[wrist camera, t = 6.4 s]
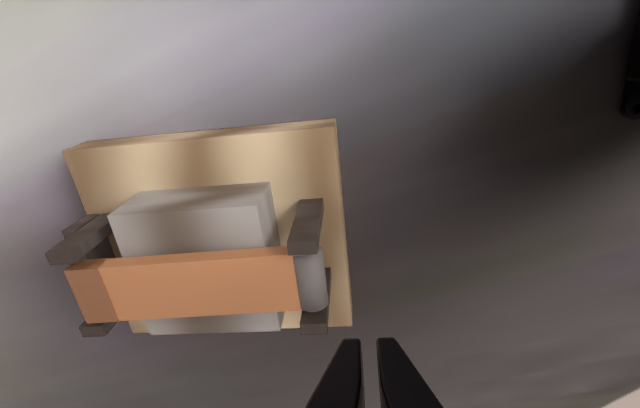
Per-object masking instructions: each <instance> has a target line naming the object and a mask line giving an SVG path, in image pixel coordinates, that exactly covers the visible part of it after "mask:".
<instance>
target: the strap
mask: <svg viewBox="0 0 640 408" xmlns="http://www.w3.org/2000/svg"><path fill="white" fill-rule="evenodd" d="M64 274H65V276H66V278H67V280H68V283H69V285H70V287H71V289H72V292H73V294H74V296H75V298H76V301H77V303H78V305H79V307H80V309H81V312H82V314H83V316H84V318H85V321H86V323H87V324H90V323H107V322H119V321H129V320H146V319H164V318H181V317H198V316H215V315H232V314H249V313H266V312H283V311H300V310H303V311H306V312H318V311H321V310H323V309H324V308H325V307H326V306H327V305H328V302H329V301H328V292H327V284H326V275H325V267H324V258H323V250H322V247H321V246H320V245H319V246H318V253H317V254H311V255H292V256H288V250H287V246H276V247H262V248H248V249H235V250H221V251H207V252H193V253H179V254H166V255H152V256H138V257H124V258H111V259H108V258H103V259H90V260H78V261H77V262H76V263H75V264H71V265H70V266H69V267H68V268H67V269H66V270H64Z"/></svg>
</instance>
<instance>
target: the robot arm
mask: <svg viewBox="0 0 640 408" xmlns="http://www.w3.org/2000/svg"><path fill="white" fill-rule="evenodd" d="M625 76H626V83H625V88H624V93H623V97H622V102H621V107H620V113H621V115H622V116H624V117H625V118H629V119H640V16H639V18H638V19H637V21H636V26H635V30H634V35H633V40H632V45H631V50H630V55H629V60H628V64H627V69H626V74H625ZM635 104H637V108H636V110H635V111H634V112H631V109H632V107H633V106H634V105H635ZM376 346H377V362H378V376H379V389H380V402H381V408H443V406H442V405H441V404H440V402H439V401H438V399H437V398H436V396H435V395H434V394H433V392H432V391H431V389H430V388H429V386H428V385H427V384H426V382H425V381H424V379H423V378H422V376H421V375H420V374H419V372H418V371H417V369H416V368H415V367H414V365H413V364H412V362H411V361H410V359H409V358H408V357H407V355H406V354H405V352H404V351H403V349H402V348H401V347H400V345H399V344H398V342H397V341H396V340H395V339H394V338H392V337H390V338H378V339H377V340H376ZM305 408H365V398H364V379H363V363H362V351H361V341H360V339H357V338H355V339H343V340H342V341H341V343H340V345H339V347H338V348H337V350H336V352H335V354H334V356H333V358H332V359H331V361H330V363H329V365H328V367H327V369H326V370H325V372H324V374H323V376H322V378H321V380H320V381H319V383H318V385H317V387H316V389H315V390H314V392H313V394H312V396H311V398H310V400H309V401H308V403H307V405H306V407H305Z"/></svg>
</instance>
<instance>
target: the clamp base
mask: <svg viewBox="0 0 640 408" xmlns="http://www.w3.org/2000/svg"><path fill="white" fill-rule="evenodd" d="M62 153H63V155H64V158H65V160H66V163H67V165H68V168H69V171H70V173H71V176H72V178H73V181H74V183H75V186H76V189H77V191H78V194H79V196H80V199H81V201H82V204H83V207H84V209H85V212H86V214H87V215H86V216H84V217H83V218H81V219H80V220H78V221H77V222H75V223H74V224H72V225H71V226H69V227H68V228H66V229H65V230H63V231H62V233H63V235H64V238H65V240H63V241H62V242H60V243H59V244H58V245H56V246H55V247H53V248H52V249H50V250H49V251H48V252H46V253H45V255H46V257H47V259H48V262H49V264H50V265H58V264H75V263H76V262H77V261H78V260H90V259H103V258H108V259H111V258H124V257H138V256H152V255H166V254H179V253H193V252H207V251H221V250H235V249H248V248H262V247H276V246H287V250H288V256H292V255H311V254H317V253H318V246H319V245H320V246H321V247H322V250H323V258H324V267H325V275H326V284H327V292H328V301H329V302H328V305H327V306H326V307H325V308H324V309H323V310H321V311H318V312H306V311H303V310H300V311H283V312H266V313H249V314H232V315H215V316H198V317H181V318H164V319H146V320H129V321H128V322H129V325H130V328H131V330H132V333H150V335H169V334H201V333H233V332H265V331H280V330H281V328H300V330H301V335H308V334H327V332H328V327H340V326H352V298H351V286H350V275H349V264H348V253H347V241H346V230H345V219H344V207H343V196H342V185H341V173H340V162H339V151H338V139H337V128H336V118H333V119H322V120H311V121H301V122H290V123H279V124H268V125H257V126H246V127H236V128H225V129H214V130H203V131H192V132H182V133H171V134H160V135H149V136H138V137H127V138H117V139H106V140H95V141H86V142H84V143H81V144H79V145H76V146H73V147H71V148H68V149H66V150H63V151H62ZM116 323H117V322H107V323H90V324H87V323H86V321H84V322H83V323H82V324H81V325H80V326H79V329H80V331H81V334H82V336H83V337H95V336H106V335H107V334H108V333H109V331H110V330H111V329H112V328H113V326H114V325H115V324H116Z"/></svg>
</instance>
